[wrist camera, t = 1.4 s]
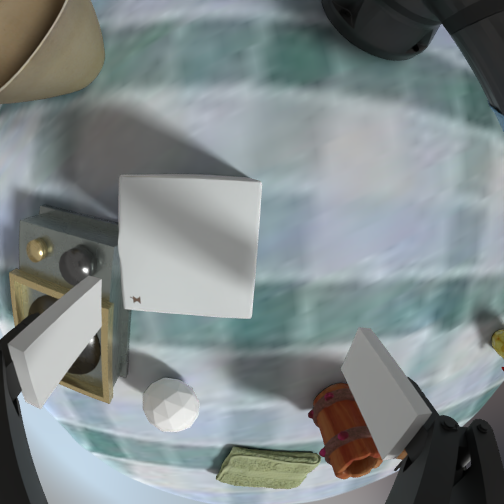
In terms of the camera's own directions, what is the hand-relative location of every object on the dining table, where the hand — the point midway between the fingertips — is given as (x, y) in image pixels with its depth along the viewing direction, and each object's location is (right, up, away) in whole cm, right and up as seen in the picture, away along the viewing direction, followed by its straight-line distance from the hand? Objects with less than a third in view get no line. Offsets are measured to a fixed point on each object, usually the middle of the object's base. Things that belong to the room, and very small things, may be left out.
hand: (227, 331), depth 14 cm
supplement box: (-3, +8, +18) cm, 20 cm away
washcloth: (+4, -37, +31) cm, 48 cm away
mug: (+16, -18, +26) cm, 36 cm away
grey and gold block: (-21, -2, +20) cm, 29 cm away
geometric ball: (-10, -16, +24) cm, 30 cm away
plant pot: (-20, +27, +12) cm, 35 cm away
